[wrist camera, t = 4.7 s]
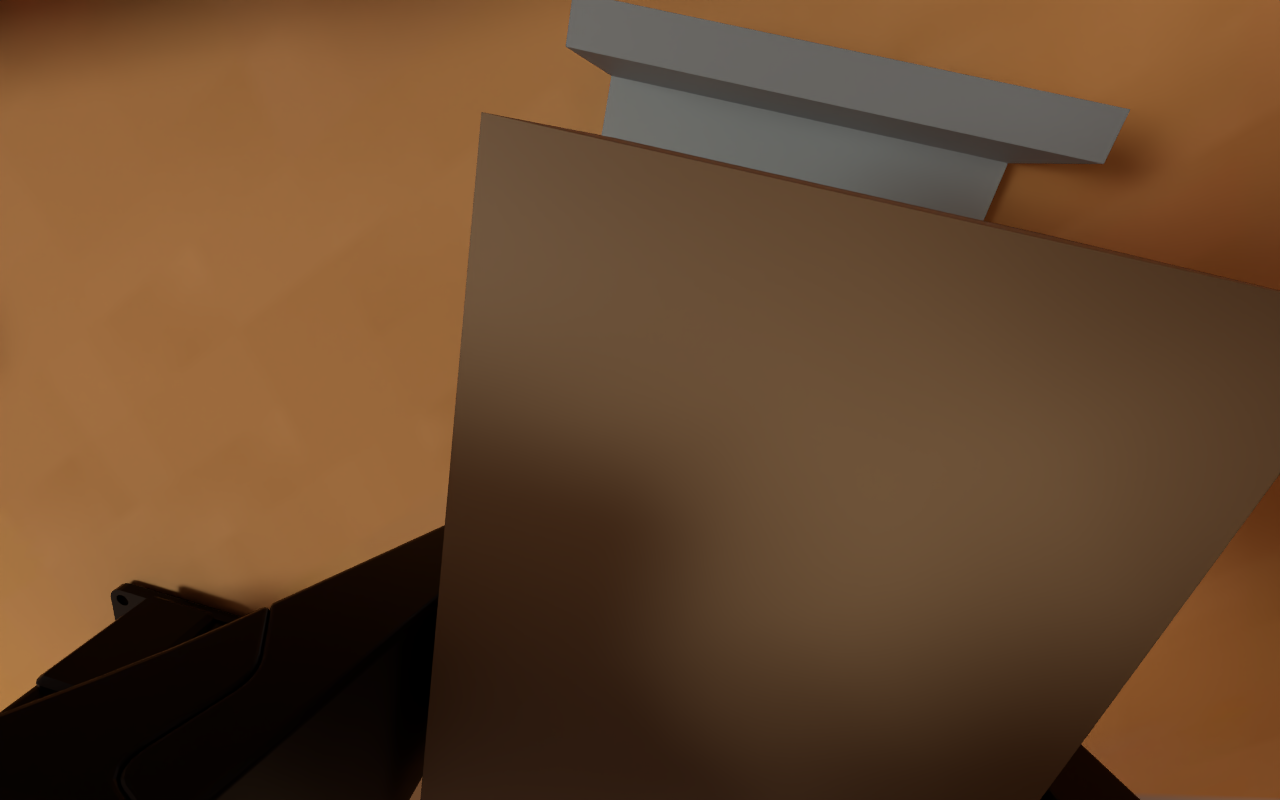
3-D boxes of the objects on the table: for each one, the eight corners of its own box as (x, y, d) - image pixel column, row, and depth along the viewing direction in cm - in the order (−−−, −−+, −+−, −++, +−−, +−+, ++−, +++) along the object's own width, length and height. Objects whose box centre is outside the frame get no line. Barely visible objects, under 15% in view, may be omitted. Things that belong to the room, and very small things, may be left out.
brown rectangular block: (781, 793, 11) (801, 1124, 7) (516, 714, 11) (403, 990, 7) (1040, 233, 7) (1396, 318, 3) (616, 138, 7) (480, 112, 3)
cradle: (812, 603, 19) (830, 724, 15) (540, 527, 19) (486, 623, 15) (1013, 125, 13) (1130, 109, 9) (623, 40, 14) (573, -8, 10)
